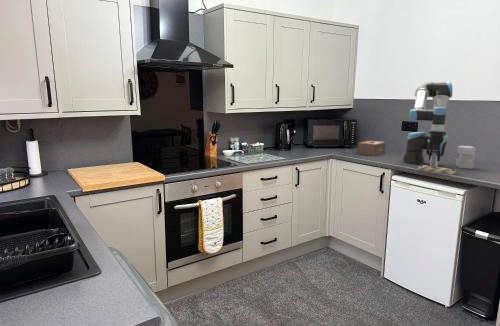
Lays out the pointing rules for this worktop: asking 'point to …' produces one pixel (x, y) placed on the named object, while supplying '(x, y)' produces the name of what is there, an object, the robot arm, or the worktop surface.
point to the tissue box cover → (371, 148)
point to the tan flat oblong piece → (437, 169)
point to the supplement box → (465, 157)
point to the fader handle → (433, 159)
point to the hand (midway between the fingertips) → (433, 165)
